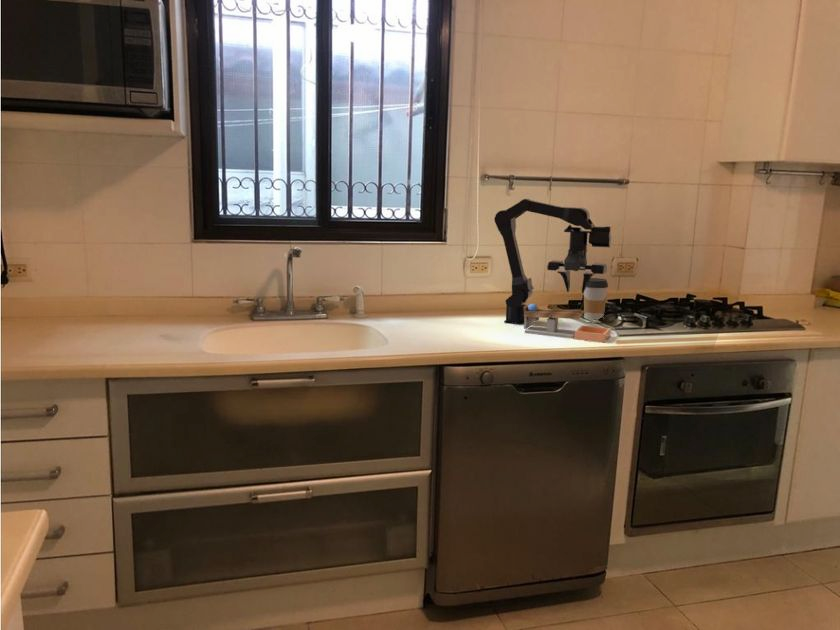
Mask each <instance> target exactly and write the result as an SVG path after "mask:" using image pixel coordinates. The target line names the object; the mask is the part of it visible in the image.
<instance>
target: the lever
mask: <svg viewBox="0 0 840 630" xmlns="http://www.w3.org/2000/svg"><path fill="white" fill-rule="evenodd" d="M529 305H530V304H526V306H525V307H524V317H528V321H529V322H530V323H531V322H534V323H536V322H537V321H539V320H540V318H542V319H543V318H546V319H548V318H558V319H573V320H575V319H576V320H577V319H578V320H580V318H582V317H583V315H584V310H582V309H552V308H551V309H550V308H549V309H546V308H537V311H528V306H529Z"/></svg>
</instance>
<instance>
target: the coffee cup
mask: <svg viewBox="0 0 840 630" xmlns="http://www.w3.org/2000/svg"><path fill="white" fill-rule="evenodd" d="M608 287H609V282H608V280H607V279H605V278H601V277H599V278H597V277H591V278H590V280H589V282H588V284H587V286H586V289H585V291H584V293H583V294H584V295H583V311H584V313H583V317H584V318H586V319H600V318H602V317H603V316H604V315H605V309H606V304H607V303H606V302H607V294H608ZM603 318H604V317H603Z"/></svg>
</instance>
